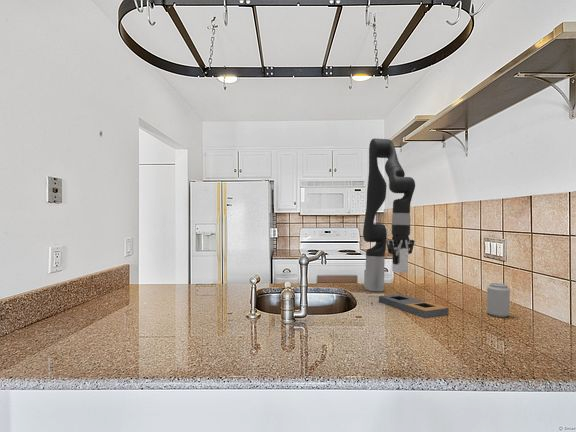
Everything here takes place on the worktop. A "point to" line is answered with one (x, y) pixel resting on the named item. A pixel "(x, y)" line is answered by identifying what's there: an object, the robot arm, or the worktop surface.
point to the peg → (401, 261)
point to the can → (498, 299)
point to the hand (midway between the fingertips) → (400, 263)
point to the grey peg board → (414, 305)
